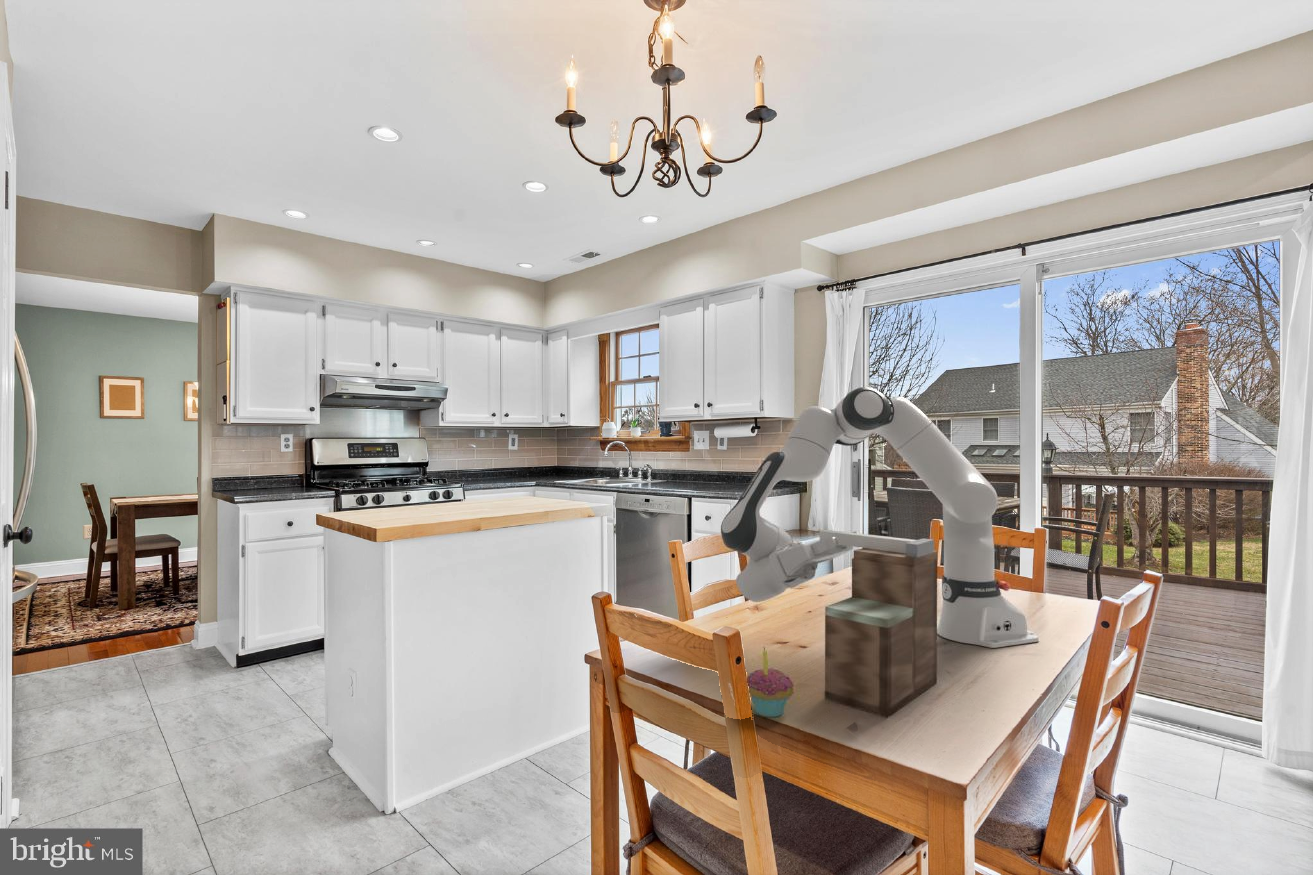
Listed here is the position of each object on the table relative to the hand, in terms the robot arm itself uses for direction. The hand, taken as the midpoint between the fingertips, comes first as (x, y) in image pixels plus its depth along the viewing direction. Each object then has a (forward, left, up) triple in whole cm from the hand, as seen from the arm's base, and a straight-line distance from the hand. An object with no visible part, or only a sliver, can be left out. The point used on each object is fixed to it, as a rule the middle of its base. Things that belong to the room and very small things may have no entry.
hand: (846, 537), depth 137 cm
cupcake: (+23, +17, -28) cm, 40 cm away
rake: (-3, +4, -1) cm, 5 cm away
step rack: (-2, +12, -27) cm, 30 cm away
